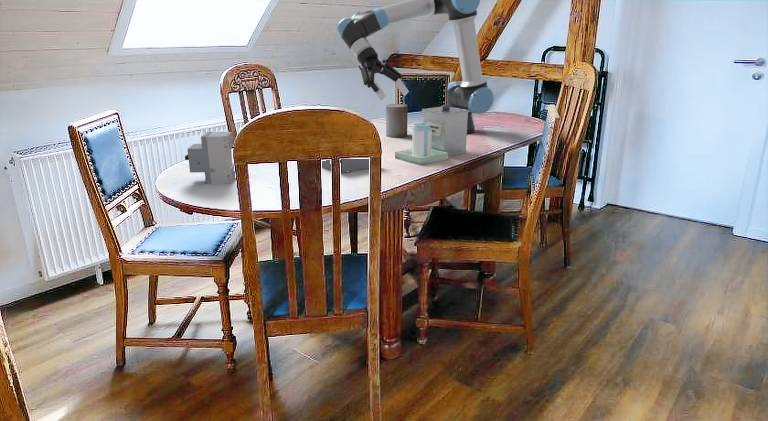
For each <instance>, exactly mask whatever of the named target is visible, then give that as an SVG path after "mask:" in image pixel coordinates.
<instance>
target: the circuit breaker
mask: <svg viewBox="0 0 768 421" xmlns="http://www.w3.org/2000/svg"><path fill="white" fill-rule="evenodd" d="M232 132H233V131H206V132H205V133H204V134H203V135H200V141H201V143H193V144H192V145H190V146H189V147H188V148H187V154H186V155H184V160H185V161H188V167H189V173H192V174H193V173H204V176H205V179H204V180H205V181H204V182H205V184H207V185H213V184H214V185H217V184H222V185H224V184H233V183H234V182H235V180H236V179H235V171H234V164H233V163H234V162H233V157H232V156H233V155H232V149H233V148H232V147H233V146H234V145H233V143H234V137H233V133H232Z"/></svg>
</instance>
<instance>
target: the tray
mask: <svg viewBox="0 0 768 421" xmlns="http://www.w3.org/2000/svg"><path fill="white" fill-rule="evenodd" d="M394 158H395V159H397V160H401V161H403V162H404V161H405V162H408V163H412V164H415V165H418V166H424V165H427V164H432V163H438V162H442V161H447V160H449V157H448V153H447V152H443V151H438V150H434V149H431V156H425V157H417V156H413V155H412V148H408V149H407V148H406V149H403V150H401V149H400V150H396V151H394Z"/></svg>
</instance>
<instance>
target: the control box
mask: <svg viewBox="0 0 768 421" xmlns="http://www.w3.org/2000/svg"><path fill="white" fill-rule="evenodd" d="M421 111H422V113H423V114H422V116H423V118H422V119H423V120H422V123H424V124H430V127H431V129H432V137H431V149H434V150H438V151H443V152H447V153H448V158H449V157H454V156H458V155H464V154H466V153H467V121H468V112H469V111H470V110H466V109H460V108H453V107H450V105H447V104H441V106H437V107H428V108H421Z"/></svg>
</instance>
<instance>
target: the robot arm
mask: <svg viewBox="0 0 768 421" xmlns="http://www.w3.org/2000/svg"><path fill="white" fill-rule="evenodd" d="M480 3H481V0H403V1H399V2H395V3H393V4H388V5H385V6H381V7H378V8H375V9H374V8H373V9H371V10H367V11H363V12H357V13H355V14H353V15H352V16H351V17H350V16H349V17H345V18H343V19H341V20H340V21H339V22H338V24H337V26H336V31H337V32H338V35H340V38H341V40H342V41H343V42H344V43H345V44H346V46H347V47H348V49H349V50H350V52H351V53H352V54H353V55H354V57H355V58H356V59H357V61H358V63H359V64H358V68H359V70H360V74H361V77H362V81H363V84H364V86H367V88H371V89H372V90H373V92H374V93H375V94H376V96H377V97H378V99H379V100H380V101H383V100H384V99H385V97H386V96H387V94H386V93H385V91H384V90H383V89H382V87H381V86H380V84H379V83H378V82H377V81H375V74H379V75H384V76H385V77H386V78H388V79H390V80H391V81H393V82H394V85H395V86H396V87H397V89H398V90H399V92H400V93H401V95H403V97H406V95H407V94H408V93H409V92H410V91H409V89H408V88H407V86H406V85H405V84H404V82H403V81H402V78H403V75H402V73H400V72H399V70H396V68H394V67H393V66H391V65H390V64H389V63H388V61H387V60H386V59H382V61H381V60H380V59H379V55H378V53H377V51H376V49H375V48H374V47H373V46H372V44H371V43H370V42H369V40H368V39H367V38H368V37H370V36H372V35H374V34H375V33H378V32H379V31H381V30H384V28H386V27H387V26H390V25H393V24H397V23H401V22H404V21H405V22H406V21H409V20H412V19H416V18H418V17H423V16H425V15H429V16H435V15H441V14H442V15H445V14H446V15H447V14H448V16H447V17H448V20H449V22H450V23H452V24H453V30H454V35H455V41H456V42H455V43H456V49H457V53H458V59H459V65H460V74H461V78H462V80H461V81H460V80H459V81H458V80H457V81H450V82H449V83H448V84H447V90H446V91H447V102H446V103H447V104H446V105H450V107H453V108H460V109H466V110H470V111H469V112H468V121H467V134H472V133H473V134H474V133H475V130H476V126H475V124H474V123H475V122H474V118H473V114H475V115H477V114H478V115H481V114H485V113H487V112H488V111H489V110H490V109H491V107H492V106H493V104H494V100H495V95H494V93H493V91H492V90H491V89H490V87H488V82H487V81H488V80H487V79H486V78H485V77H483V71H482V66H481V60H480V59H481V57H480V52H479V51H480V49H479V43H478V36H477V31H476V30H477V29H476V23H475V19H476V18H477V16H478V12H477V10H478V7H479V5H480Z"/></svg>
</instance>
